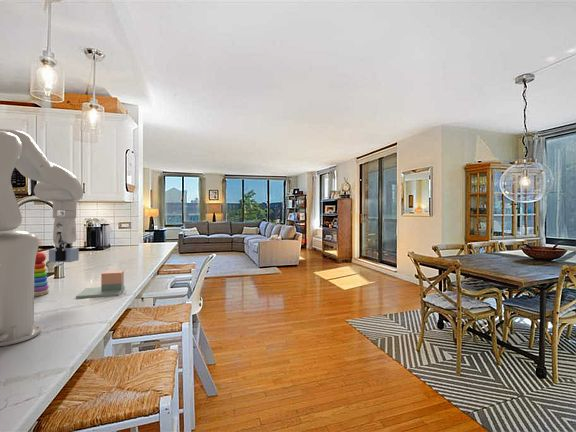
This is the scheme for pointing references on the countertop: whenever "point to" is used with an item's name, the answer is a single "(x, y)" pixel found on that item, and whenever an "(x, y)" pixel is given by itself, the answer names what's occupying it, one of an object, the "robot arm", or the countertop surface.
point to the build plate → (102, 291)
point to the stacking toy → (40, 275)
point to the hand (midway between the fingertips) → (64, 259)
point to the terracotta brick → (112, 277)
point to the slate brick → (71, 255)
